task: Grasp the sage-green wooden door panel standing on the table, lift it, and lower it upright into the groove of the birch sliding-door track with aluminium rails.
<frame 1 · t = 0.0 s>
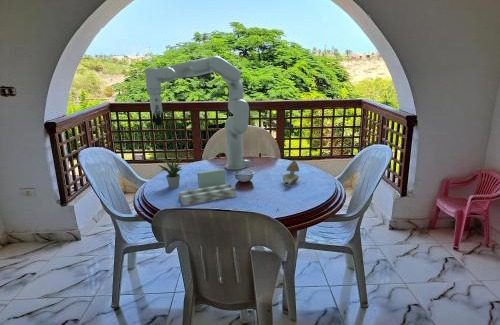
hand: (157, 123, 185), 31 cm above the table, tool pointing down, fingers open, 9 cm apart
door panel: (212, 187, 177), on the table
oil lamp: (290, 183, 181), on the table
door track: (207, 196, 164), on the table
house plant: (175, 186, 180), on the table
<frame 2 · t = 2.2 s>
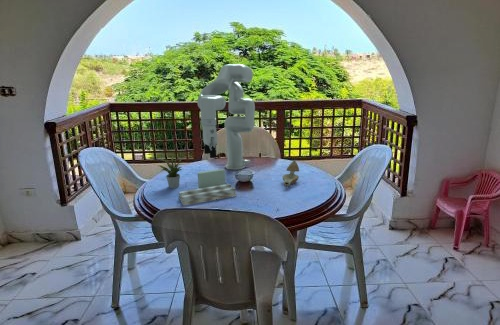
hand: (210, 155, 172), 17 cm above the table, tool pointing down, fingers open, 9 cm apart
nothing on the table moved.
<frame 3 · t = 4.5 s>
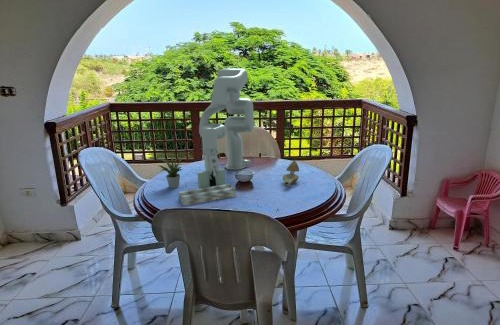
hand: (212, 184, 176), 1 cm above the table, tool pointing down, fingers closed on door panel, 2 cm apart
door panel: (212, 187, 177), on the table, touching gripper
everything else where it was.
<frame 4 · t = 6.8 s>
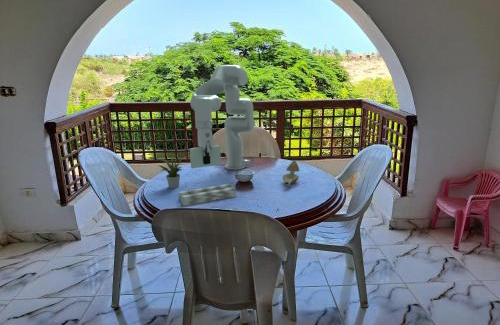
hand: (205, 162, 159), 17 cm above the table, tool pointing down, fingers closed on door panel
door panel: (206, 165, 160), point 16 cm above the table, touching gripper
everything else where it was.
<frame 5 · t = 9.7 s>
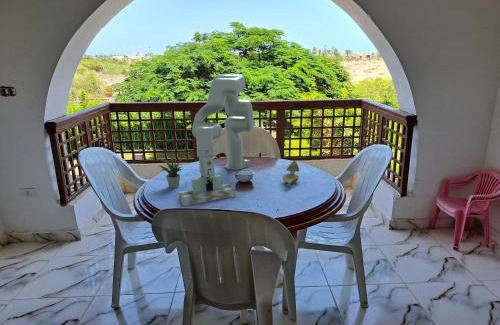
hand: (207, 187, 163), 5 cm above the table, tool pointing down, fingers open, 7 cm apart
door panel: (207, 194, 164), point 1 cm above the table, touching door track
everything else where it was.
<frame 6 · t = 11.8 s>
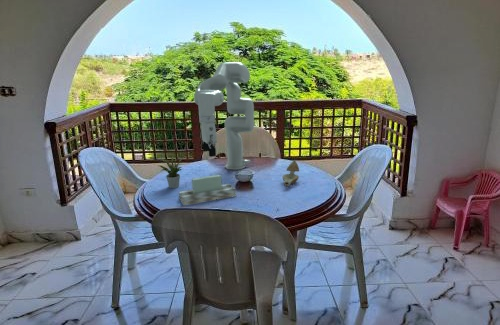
hand: (209, 153, 164), 20 cm above the table, tool pointing down, fingers open, 9 cm apart
nothing on the table moved.
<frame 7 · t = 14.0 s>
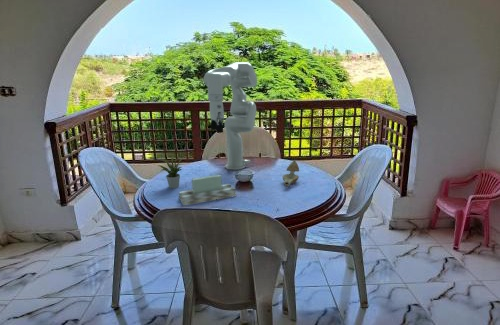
hand: (217, 131, 176), 28 cm above the table, tool pointing down, fingers open, 9 cm apart
nothing on the table moved.
at the end: door panel inside the target area on the door track (0.1 cm from its centre), point 1.0 cm above the door track's base; door panel tilted 0°; the gripper is holding nothing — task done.
